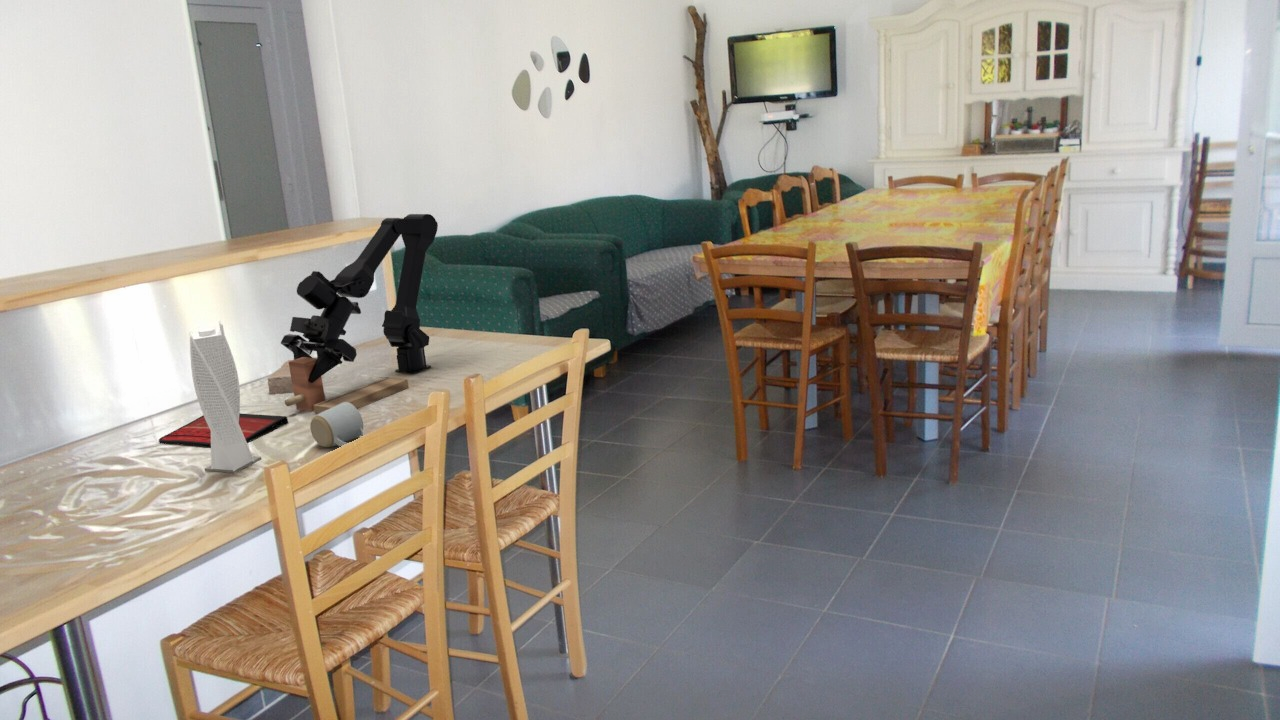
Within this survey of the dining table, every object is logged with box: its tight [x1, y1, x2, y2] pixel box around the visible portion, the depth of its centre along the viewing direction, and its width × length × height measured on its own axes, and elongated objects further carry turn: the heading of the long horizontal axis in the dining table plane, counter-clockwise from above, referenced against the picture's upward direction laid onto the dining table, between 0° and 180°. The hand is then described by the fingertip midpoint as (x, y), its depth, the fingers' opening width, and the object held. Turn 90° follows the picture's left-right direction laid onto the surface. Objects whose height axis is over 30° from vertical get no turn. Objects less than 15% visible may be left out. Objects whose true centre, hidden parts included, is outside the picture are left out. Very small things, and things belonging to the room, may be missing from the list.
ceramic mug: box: [309, 402, 366, 449], centre depth 183 cm, size 10×8×7 cm
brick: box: [267, 356, 317, 395], centre depth 229 cm, size 17×8×5 cm, turn 2°
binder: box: [158, 413, 289, 447], centre depth 195 cm, size 16×2×21 cm
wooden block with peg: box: [284, 357, 326, 412], centre depth 205 cm, size 8×5×11 cm, turn 149°
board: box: [313, 376, 409, 415], centre depth 211 cm, size 22×6×2 cm, turn 149°
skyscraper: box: [188, 319, 262, 474], centre depth 172 cm, size 8×8×28 cm
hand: (301, 381), depth 206 cm, fingers closed on wooden block with peg, 5 cm apart
